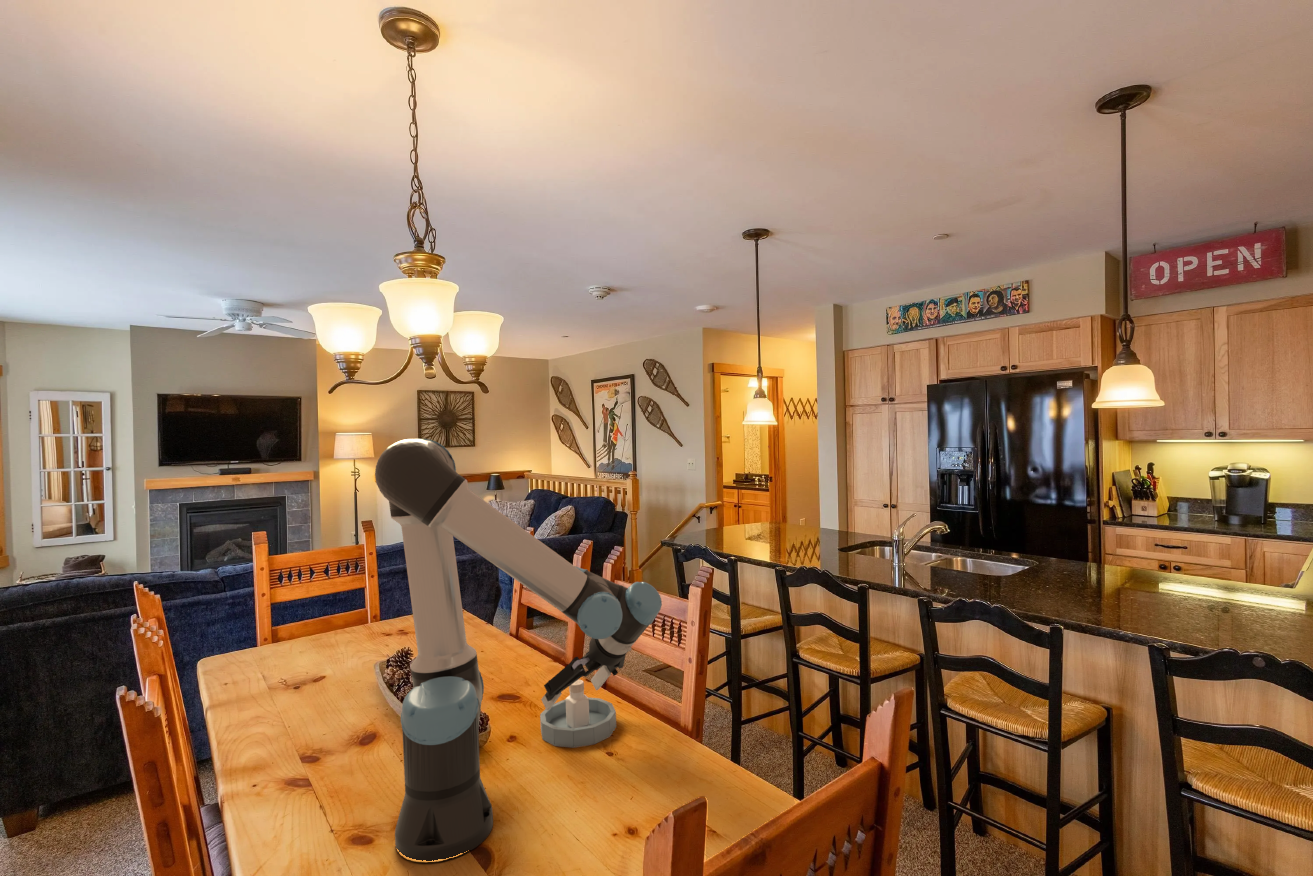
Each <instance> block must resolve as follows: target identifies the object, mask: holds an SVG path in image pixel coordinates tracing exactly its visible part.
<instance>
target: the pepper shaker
mask: <svg viewBox="0 0 1313 876" xmlns="http://www.w3.org/2000/svg"><path fill="white" fill-rule="evenodd" d="M568 689H569V690H568V691H569V695H568V696H567V697H566V698H565V700H566V722H567V725H568V726H569V727H571V728H579V727H586V726H588V725H589V723H590V721H589V699H588V698H589V697H588V696H587V695H586V694H585V693H584V692H585V682H584V680H582V679H578V680H577V681H575V682H574V683H573V684H571V685H570V686H569V687H568Z"/></svg>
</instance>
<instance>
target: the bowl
mask: <svg viewBox="0 0 1313 876" xmlns="http://www.w3.org/2000/svg"><path fill="white" fill-rule="evenodd" d="M588 699H589V721H590V723H589V725H588V726H586V727H579V728H571V727H569V726H568V725H567V722H566V699H563V700H560V701H556V702H555V703H554V705H553V706H552V707H551V709H550V710H548V711H547V710H546V708H545V709H544V710H543V711H542V712H541V713H540V714H539V715H540V716H539V718H540V720H539V721H540V733H541V737H542V740H543V741H544V742H546V743H549V744H550V745H551V746H554V747H561V748H564V747H565V748H571V749H572V748H574V749H575V748H580V747H587V746H592V745H596V744H597V743H600V742H602V741H604V740H606V739H608V738H610V737H611V736H612V734H613V733H614V732H613V731H616V729H617V712H616V709H615V707H614V705H613V703H611V702H610V701H607V700H606V699H605V700H604V699H602V698H599V697H588ZM615 728H616V729H615Z"/></svg>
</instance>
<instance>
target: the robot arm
mask: <svg viewBox="0 0 1313 876" xmlns="http://www.w3.org/2000/svg"><path fill="white" fill-rule="evenodd" d="M374 471H375V472H374V476H375V477H374V478H375V482H376V486H377V487H378V488H377V489H378V491H379V492H380V494H382V496H383V497H384V498H385V499H386V500H387V501H388V504H389V511H390V519H392V520H393V521H395V522H396V523H398V524H399V525H400V527H401V533H402V541H403V548H404V549H403V550H404V557H405V565H406V572H407V580H408V587H409V593H410V594H409V596H410V602H411V603H410V604H411V610H412V616H413V617H412V618H413V626H414V633H415V642H416V647H417V648H416V649H417V656H416V657H415V659H414V660H413V661H412V663H410V673H411V680H412V686H413V687H412V689H410V690H409V692H408V693H407V694H406V695H405V697H404V699H403V701H402V706H401V713H400V714H401V715H400V724H401V729H402V731H401V732H402V750H403V751H402V752H403V771H404V797H403V800H402V803H401V807H400V811H399V814H398V818H397V822H396V824H395V825H396V826H395V829H394V842H395V845H396V846H395V849H396V848H397V849H398V850H399V852H401V853H402V854H403V855H405V856H406V857H409V858H412V859H416V860H422V861H423V860H426V861H432V860H433V861H434V860H438V859H446V858H449V857H453V856H456V855H458V854H460V853H464V852H466V851H468V850H471V851H472V850H474V849H476V848H477V847H478V846H480V845H481V844H482V843H483V842H484V841H485V840H486V839H487V838H488V836H489V835H490V834H491V831H492V829H493V827H494V815H493V814H494V812H493V807H492V806H493V805H492V803H491V801H490V799H489V796H488V793H487V791H486V789H485V785H484V783H483V782H482V778H481V770H480V769H481V765H480V743H479V742H480V740H479V739H480V738H479V729H480V728H479V727H480V715H481V709H482V702H483V698H484V692H485V691H484V689H485V688H484V687H485V686H484V679H483V676H482V673H481V672H480V671H481V670H480V669H479V661H478V654H477V650H476V648H474V647H473V646H471V645H470V644H468V642H467V636H466V628H465V620H464V612H463V611H464V609H463V604H462V596H461V591H460V590H461V588H460V580H459V579H460V578H459V573H458V566H457V565H458V564H457V558H456V550H455V543H454V538H455V539H457V540H458V541H460V542H461V543H463V544H464V545H466V546H467V547H468V548H470V549H471V550H472V551H475V552H476V553H477V554H478V555H480V556H481V557H482V558H484V559H485V560H486V561H488V562H490V563H491V564H493V565H494V566H495V567H497V568H498V569H500V570H501V571H503V572H504V573H505V574H507V576H510V577H511V578H513V579H514V580H515V581H517V582H518V583H520V584H521V585H522V586H524V587H525V588H527V589H528V590H530V591H531V592H533V593H534V594H535V595H536V596H538V597H540V598H541V599H543V600H544V601H546V602H547V603H548V604H549V605H551V606H552V607H554V608H555V609H557V610H558V611H559V612H560V613H562V614H564V615H565V617H567V618H568V619H570V620H571V621H573V622H574V623H576V624H577V625H578V627H579V628H580V630H581V631H582V632H583V634H585V635H586V636H588V637H589V638H590V640H589V644H588V646H589V647H588V651H587V652H586V653H585V655H583V656H582V657H581V658H579V656H575V657H574V658H573V659H572V660H571V661H570V662H569V663H568V664H567V665H566V666H565V667H563V668H562V670H560V671H558V672H557V673H556V675H554V676H553V677H552V678H550V679H548V681H547V682H546V683H545V684H544V685H543V688H544V690H545V691H546V692H545V694H544V695H543V696H542V698H541V699H540V700H541V703H542V704H543V706H544V708H545V709H546V710H547V711H548V710H550V709H551V707H552V706H553V705H554V704H555V703H557V702H558V700H559V698H560V697H561V695H562V694H563V691H564V690H566V689H568V688H569V686H570V685H571V684H573V683H574V682H575V681H577V680H581V678H582V677H588V676H589V675H590V674H592V673H594V671H596V673H595V674H594V675H593V676H592V677H591V679H590V681H591V684H592V686H593V688H594V689H595V691H598V690H600V688H601V687H603V684H605V683H606V681H607V680H608V679H609V677H610V676H611V675H613V677H614V676H616V675H617V674H618V673H619V672H618V670H619V669H623V667H624V665H625V661H626V660H625V659H626V655H627V653H629V652H631V651H632V649H633V648H632V647H633V645H634V644H635V643H636V641H638V639H640V637H641V636H642V635H643V634H644V632H645V631H646V629H647V628H648V627H649V626H650V625H652V624H653V622H654V621H655V619H656V617H657V616H658V614H659V613H660V611H661V610H662V609H661V608H662V605H663V603H662V602H663V601H662V597H661V595H660V592H659V591H658V590H657V589H656V588H655V587H654V586H653V585H652V584H650V583H648V582H646V581H635V582H633V583H632V584H631V585H629V586H628V587H626V586H624V585H620V584H619V583H615V582H613V581H611V580H609V579H606V578H605V577H602V576H600V575H599V574H595V573H593V572H591V571H589V569H584V568H581V567H579V566H577V565H573V564H572V563H571V562H569V561H568V560H566V559H565V558H564V557H563V556H561V554H558V553H557V552H556V551H555V550H553V549H552V548H550V547H549V546H548V545H546V544H545V543H543V542H542V541H540V540H539V539H538V538H536V537H535V536H534V535H532V534H531V533H530V532H528V531H527V530H526V529H524V528H523V527H521V525H519V524H518V523H516V522H515V521H514V520H511V519H510V518H509V517H507V516H506V515H505V514H503V513H502V512H501V511H500V510H498V509H497V508H495V507H494V506H492V505H491V504H490V503H488V502H487V501H486V500H484V499H483V498H481V497H480V496H479V495H478V494H476V493H475V492H473V491H472V490H471V489H470V488H469V484H468V480H467V479H466V478H465V477H464V476H462V475H461V474H459V473H458V472H457V467H456V462H455V460H454V458H453V456H452V453H450V450H448V449H447V448H446V447H445V445H442V443H439V442H438V441H435V440H432V439H429V438H407V439H402V440H399V441H397V442H394V443H393V444H391V445H389V446H388V447H387V448H385V450H384V451H382V453H381V454H380V456H379V458H378V459H377V462H376V465H375V470H374ZM584 666H585V667H584ZM585 668H586V669H587V670H585ZM617 669H618V670H617Z"/></svg>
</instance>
